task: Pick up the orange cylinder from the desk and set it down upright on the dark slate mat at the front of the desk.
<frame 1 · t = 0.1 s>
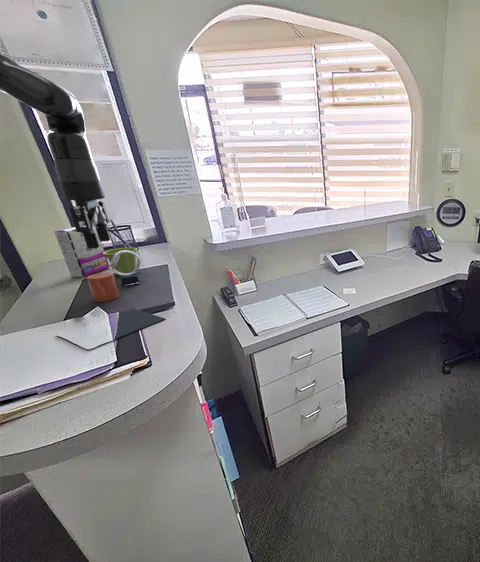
hand: (99, 244, 81), 17 cm above the table, tool pointing down, fingers open, 8 cm apart
watch: (131, 284, 102), on the table
desk mat: (113, 327, 74), on the table
candy bar box: (91, 273, 112), on the table
orange cylinder: (107, 297, 90), on the table
plant pot: (127, 274, 111), on the table
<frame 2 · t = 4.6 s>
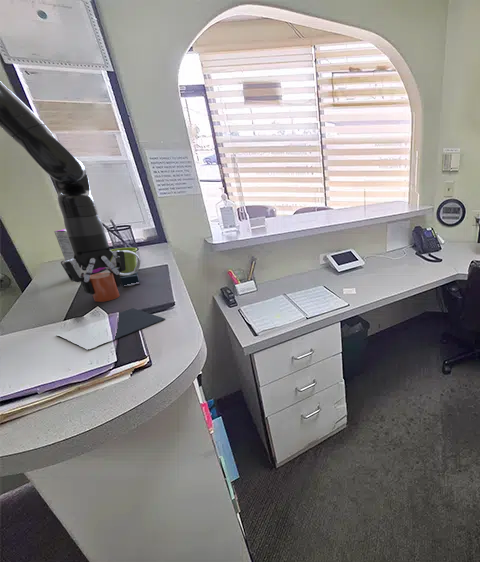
hand: (104, 289, 90), 3 cm above the table, tool pointing down, fingers closed on orange cylinder, 6 cm apart
orange cylinder: (107, 297, 90), on the table, touching gripper
everything else where it was.
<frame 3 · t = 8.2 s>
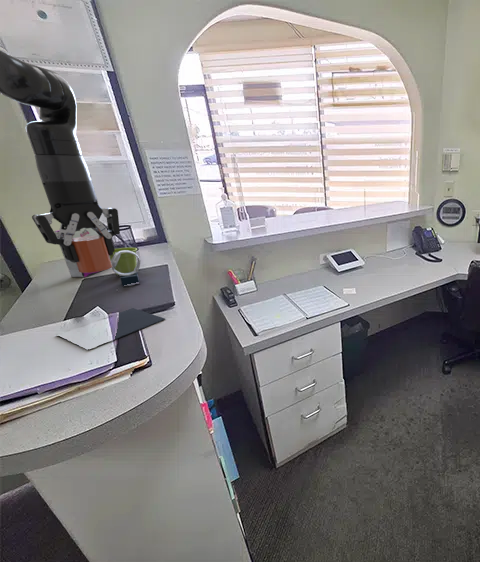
hand: (92, 257, 69), 17 cm above the table, tool pointing down, fingers closed on orange cylinder, 6 cm apart
orange cylinder: (96, 268, 70), point 14 cm above the table, touching gripper
everything else where it was.
when the fingers open (3 cm above the table, at t = 11.9 s): orange cylinder stays where it is, resting on desk mat.
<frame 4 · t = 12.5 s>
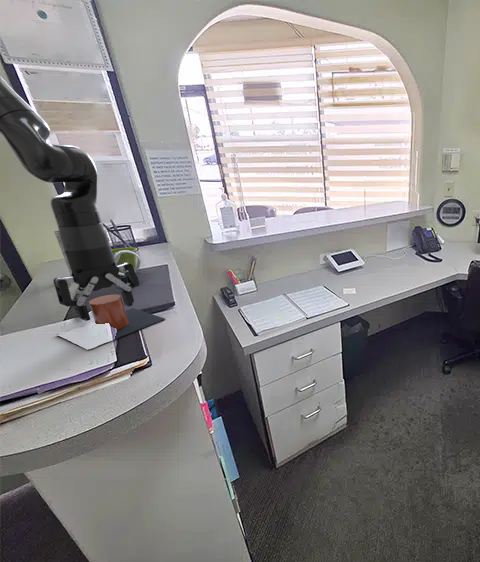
hand: (108, 312, 73), 4 cm above the table, tool pointing down, fingers open, 8 cm apart
orange cylinder: (113, 326, 74), resting on desk mat
everything else where it was.
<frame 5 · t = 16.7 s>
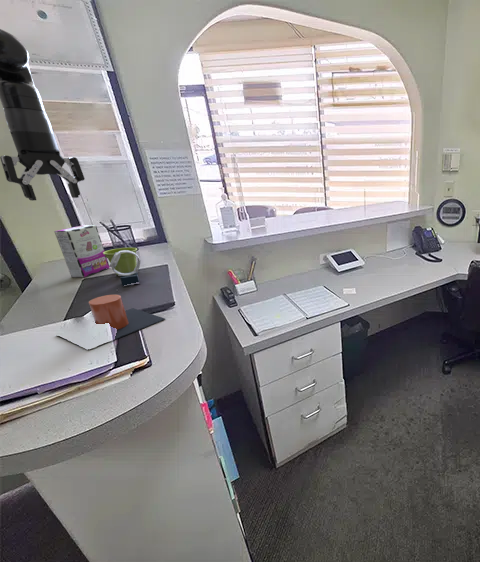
hand: (55, 198, 82), 28 cm above the table, tool pointing down, fingers open, 8 cm apart
nothing on the table moved.
at the end: orange cylinder inside the target area on the desk mat (0.1 cm from its centre), point 0.3 cm above the desk mat's base; orange cylinder tilted 0°; plant pot moved 0.2 cm from its start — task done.
